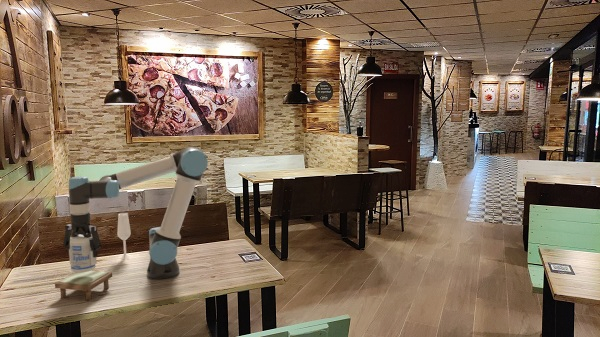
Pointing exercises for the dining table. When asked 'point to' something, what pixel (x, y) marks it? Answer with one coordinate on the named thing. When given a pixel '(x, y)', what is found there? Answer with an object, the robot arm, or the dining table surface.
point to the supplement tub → (80, 254)
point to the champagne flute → (123, 232)
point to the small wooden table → (83, 282)
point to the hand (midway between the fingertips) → (83, 263)
